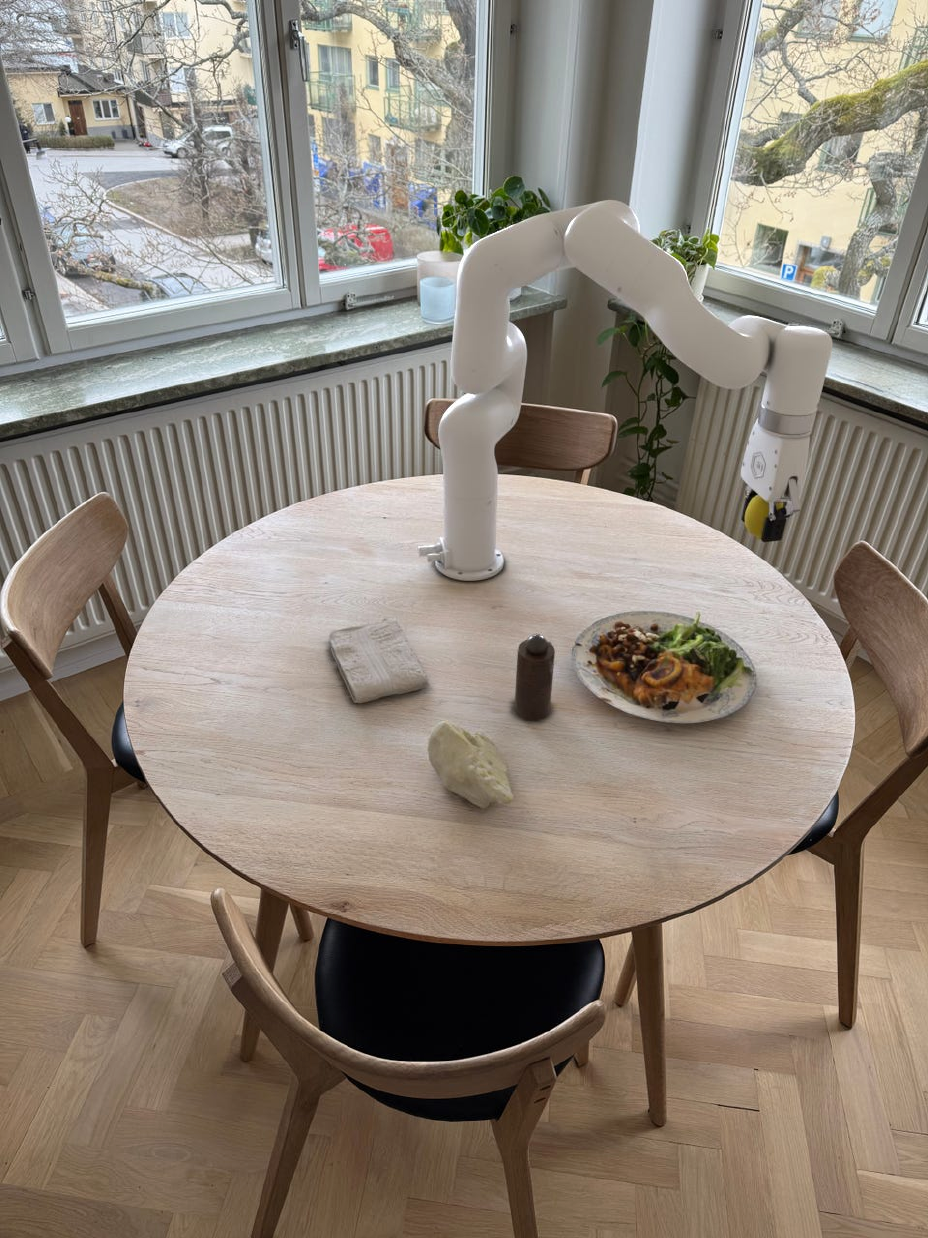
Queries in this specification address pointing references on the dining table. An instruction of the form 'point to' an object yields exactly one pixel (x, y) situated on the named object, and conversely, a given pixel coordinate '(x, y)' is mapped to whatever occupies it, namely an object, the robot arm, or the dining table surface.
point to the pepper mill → (534, 678)
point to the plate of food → (664, 667)
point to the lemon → (757, 515)
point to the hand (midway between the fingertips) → (760, 529)
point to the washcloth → (376, 660)
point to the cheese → (469, 764)
